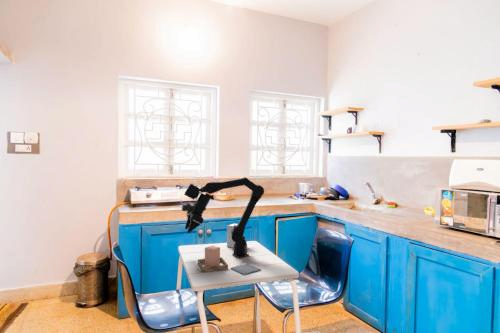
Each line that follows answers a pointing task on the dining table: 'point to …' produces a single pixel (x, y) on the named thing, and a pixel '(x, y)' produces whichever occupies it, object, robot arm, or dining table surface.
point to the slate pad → (245, 269)
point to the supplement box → (229, 238)
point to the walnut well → (212, 268)
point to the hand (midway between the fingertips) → (186, 230)
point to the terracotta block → (212, 256)
